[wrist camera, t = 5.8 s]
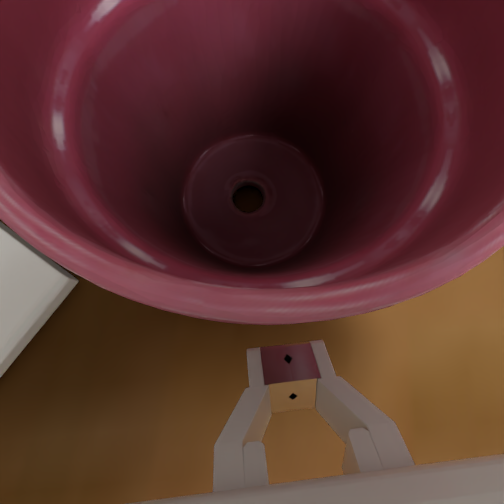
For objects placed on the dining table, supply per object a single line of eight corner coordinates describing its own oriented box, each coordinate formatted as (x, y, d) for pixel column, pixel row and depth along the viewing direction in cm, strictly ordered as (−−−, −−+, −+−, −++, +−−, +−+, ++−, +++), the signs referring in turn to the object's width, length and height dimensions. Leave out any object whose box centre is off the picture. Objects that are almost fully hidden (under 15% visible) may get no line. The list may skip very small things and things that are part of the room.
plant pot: (386, 135, 20) (624, -182, 7) (343, 349, 17) (613, 447, 4) (182, 86, 20) (71, -279, 8) (107, 281, 18) (-254, 196, 5)
